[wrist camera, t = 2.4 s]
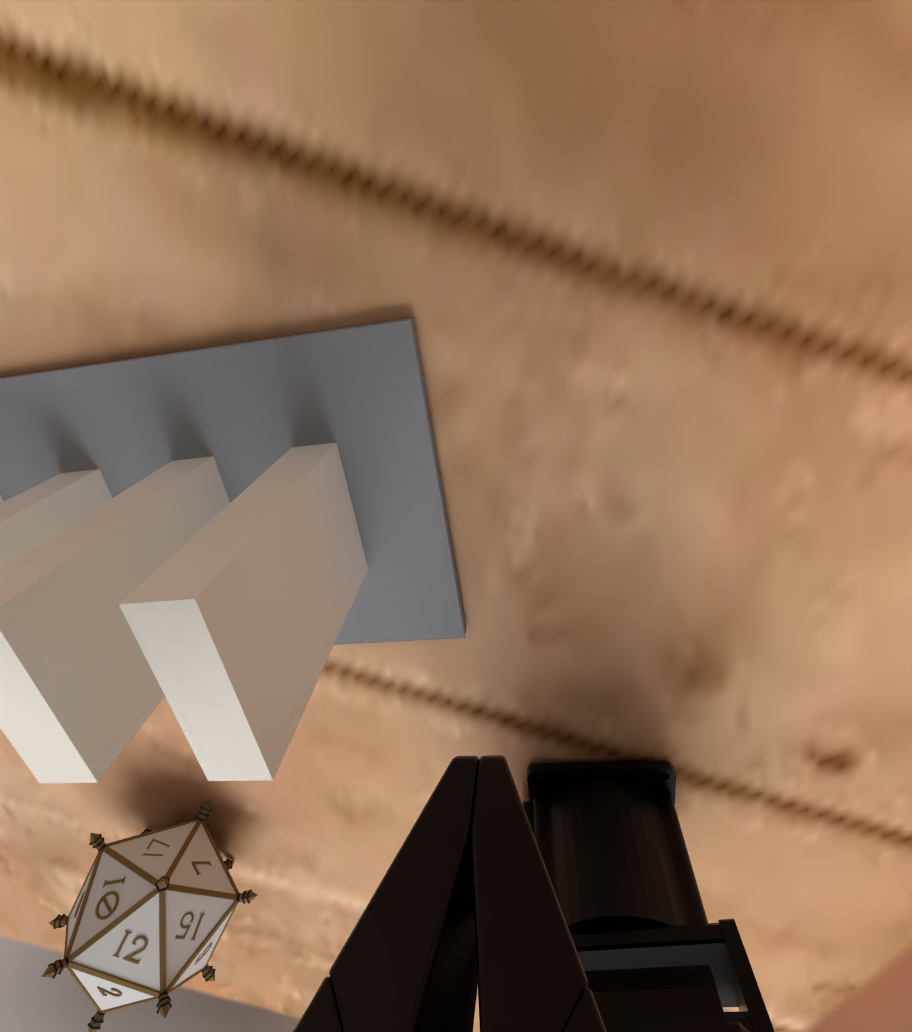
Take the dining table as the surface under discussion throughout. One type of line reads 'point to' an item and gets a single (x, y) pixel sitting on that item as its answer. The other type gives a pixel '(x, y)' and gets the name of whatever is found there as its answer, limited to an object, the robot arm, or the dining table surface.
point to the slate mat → (266, 446)
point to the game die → (148, 916)
